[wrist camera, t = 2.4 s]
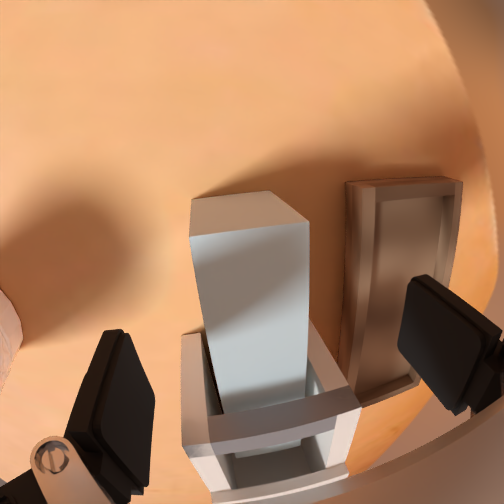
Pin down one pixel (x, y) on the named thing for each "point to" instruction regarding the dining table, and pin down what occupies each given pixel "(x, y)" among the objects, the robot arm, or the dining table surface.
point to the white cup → (8, 337)
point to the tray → (390, 273)
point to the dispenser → (267, 430)
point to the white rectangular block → (253, 298)
